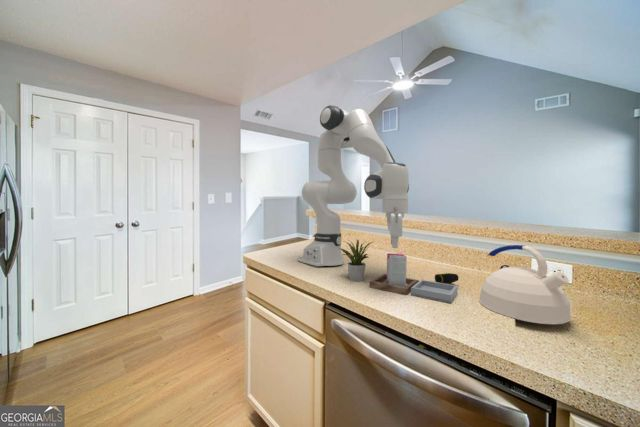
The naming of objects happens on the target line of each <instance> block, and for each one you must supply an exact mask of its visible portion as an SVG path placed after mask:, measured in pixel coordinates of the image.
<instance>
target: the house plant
mask: <svg viewBox="0 0 640 427" xmlns="http://www.w3.org/2000/svg"><path fill="white" fill-rule="evenodd" d="M348 241H349V242H350V243H349V242H347V241H343V242H344V243H346V244H344V246H346V245H348V247H347V246H346V247H347V249H349V250H350V251H351V253H350V252H349V251H348V250H346V249H344V248H342V247H341V248H339V249H341V252H343V253H342V256H347V257H348V258H349V260H350V262H347V268H348V269H347V270H348V277H349V280H350V281H354V282H361V281H363V280H364V277H365V271H366V266H367V264H366V263H365V262H362V261H364V260H365V259H367V258H368V259H369V256H370V257H371V255H370V254H368V253H366V251H367V250H368V248H369V247H371V244H373V241H371V242H368V241H364V242H363V243H360V240H358V239H356V244H355V245H354V243H353V242H352V241H351V240H349V239H348ZM367 242H368V243H367ZM365 243H367V244H366V245H365V246H363V245H364V244H365ZM359 246H360V247H359Z"/></svg>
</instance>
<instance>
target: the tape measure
mask: <svg viewBox="0 0 640 427" xmlns="http://www.w3.org/2000/svg"><path fill="white" fill-rule="evenodd" d="M458 281H459V276H458V274H456V273H450V272H449V273H437V274H435V275H434V282H438V283H444V284H452V283H455V282H458Z"/></svg>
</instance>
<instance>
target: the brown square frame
mask: <svg viewBox="0 0 640 427" xmlns="http://www.w3.org/2000/svg"><path fill="white" fill-rule="evenodd" d="M386 277H387V273H383V274H381V275H379V276H378V277H376V278H373V279H371V280H370V281H368V283H369V285H368V286H369V288H372V289H375V290H381V291H385V292H390V293H393V294H394V293H395V294H399V295H400V294H401V295H405V296H407V295H409V294H411V287H412V286H414V285H415V284H416V283H418V282H419V281H420V280H419V279H416V278H409V277H406V287H400V286H395V285H390V284H386V283H384V282H385V281H386Z"/></svg>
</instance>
